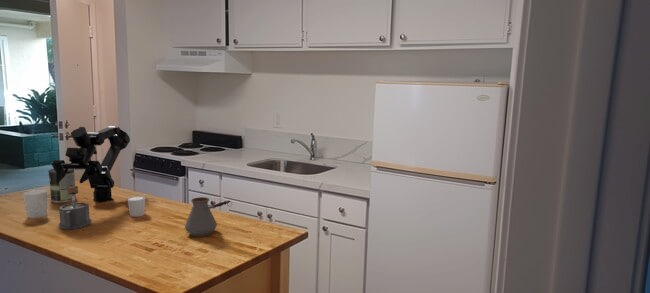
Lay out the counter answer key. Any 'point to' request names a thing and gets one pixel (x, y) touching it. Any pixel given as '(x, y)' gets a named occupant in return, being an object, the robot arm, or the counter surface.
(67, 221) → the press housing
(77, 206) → the plunger
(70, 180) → the coffee can
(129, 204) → the shot glass
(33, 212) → the white cup
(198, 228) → the coffee pot
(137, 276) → the counter surface
